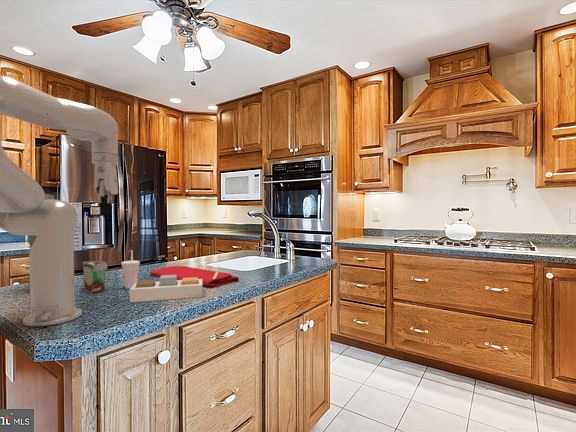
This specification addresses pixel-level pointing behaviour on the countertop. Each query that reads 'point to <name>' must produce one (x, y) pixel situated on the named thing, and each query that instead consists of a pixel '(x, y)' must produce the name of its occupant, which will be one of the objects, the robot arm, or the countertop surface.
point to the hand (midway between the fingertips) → (106, 215)
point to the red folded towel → (197, 275)
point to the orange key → (190, 281)
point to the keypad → (166, 292)
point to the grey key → (168, 280)
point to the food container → (94, 276)
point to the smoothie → (130, 272)
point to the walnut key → (145, 283)
